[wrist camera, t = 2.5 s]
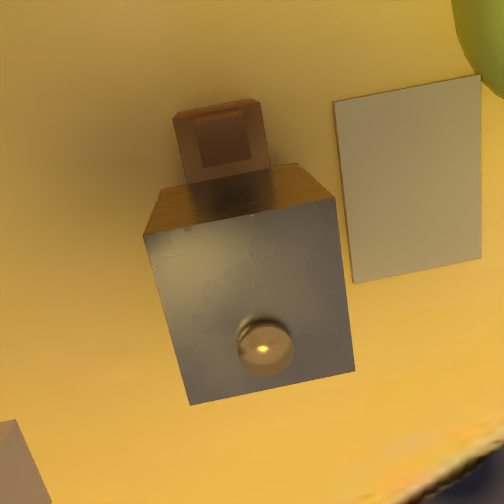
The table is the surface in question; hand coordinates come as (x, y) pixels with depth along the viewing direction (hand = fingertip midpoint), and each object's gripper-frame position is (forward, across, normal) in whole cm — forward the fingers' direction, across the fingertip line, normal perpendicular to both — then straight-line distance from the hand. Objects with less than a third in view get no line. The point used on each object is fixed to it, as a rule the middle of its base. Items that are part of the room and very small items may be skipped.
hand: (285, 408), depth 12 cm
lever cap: (+12, 0, 0) cm, 12 cm away
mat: (+17, +10, 0) cm, 20 cm away
